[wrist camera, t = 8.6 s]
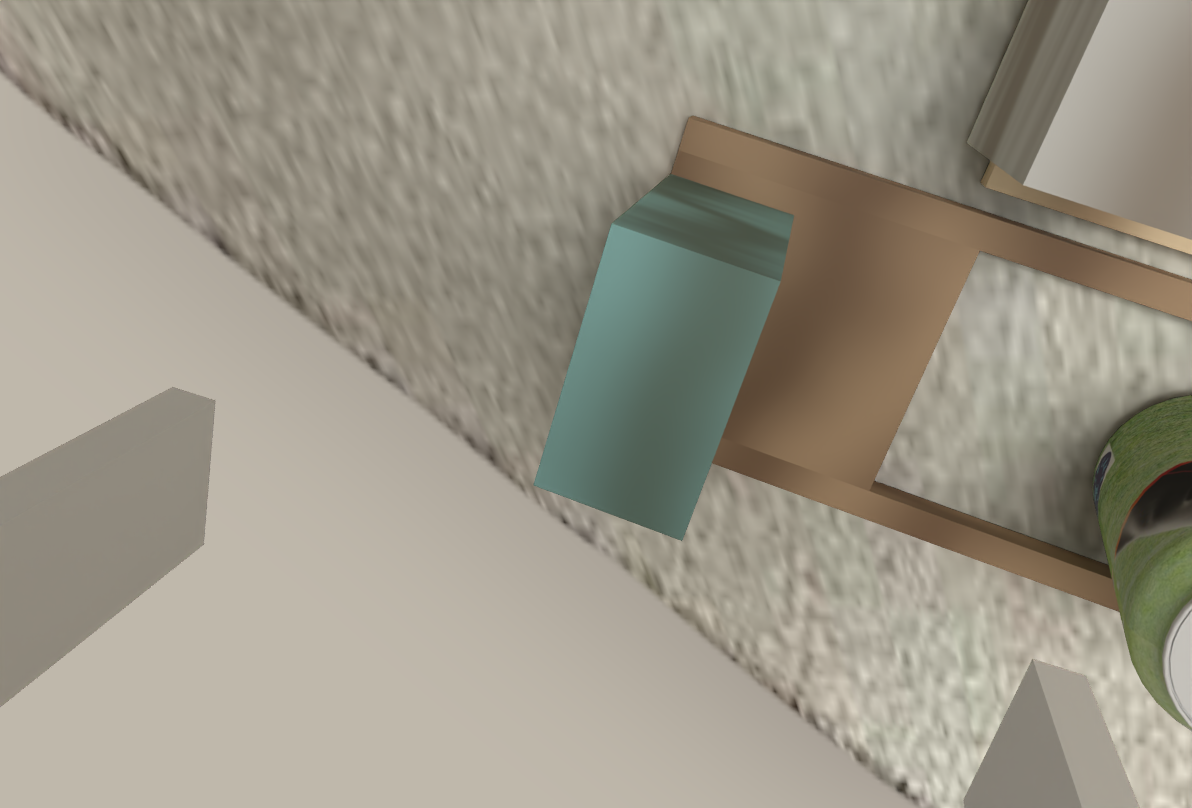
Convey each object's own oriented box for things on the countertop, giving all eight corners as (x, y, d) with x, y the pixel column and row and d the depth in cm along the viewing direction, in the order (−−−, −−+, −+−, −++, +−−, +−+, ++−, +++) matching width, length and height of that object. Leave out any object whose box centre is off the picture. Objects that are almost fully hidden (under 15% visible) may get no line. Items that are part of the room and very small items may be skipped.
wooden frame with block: (599, 409, 35) (516, 541, 26) (693, 115, 31) (634, 147, 21) (1233, 640, 32) (1392, 875, 23) (1426, 356, 28) (1710, 507, 19)
